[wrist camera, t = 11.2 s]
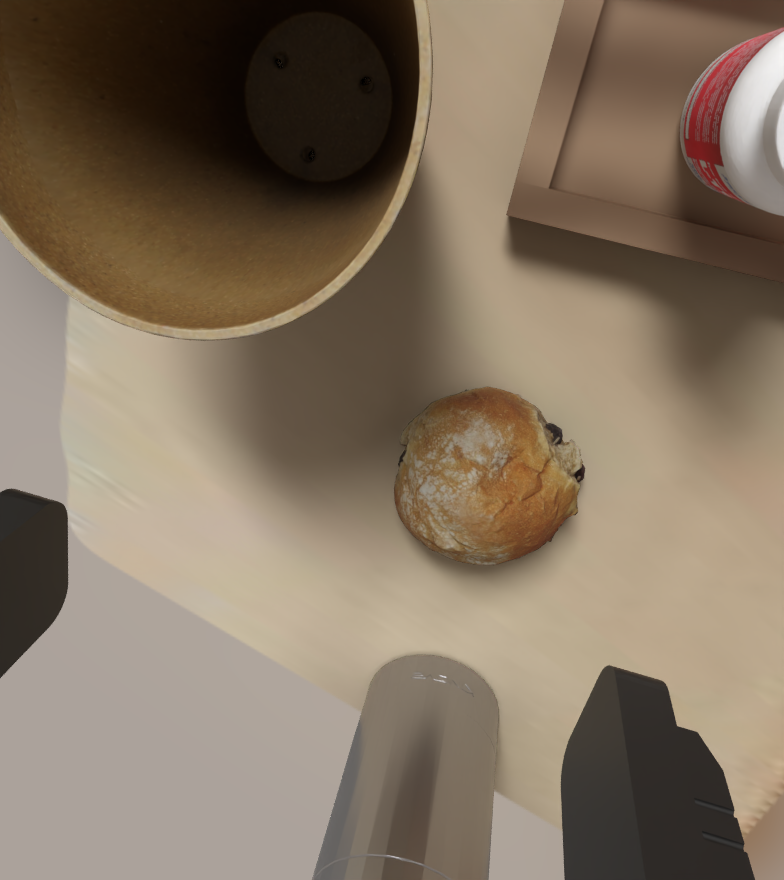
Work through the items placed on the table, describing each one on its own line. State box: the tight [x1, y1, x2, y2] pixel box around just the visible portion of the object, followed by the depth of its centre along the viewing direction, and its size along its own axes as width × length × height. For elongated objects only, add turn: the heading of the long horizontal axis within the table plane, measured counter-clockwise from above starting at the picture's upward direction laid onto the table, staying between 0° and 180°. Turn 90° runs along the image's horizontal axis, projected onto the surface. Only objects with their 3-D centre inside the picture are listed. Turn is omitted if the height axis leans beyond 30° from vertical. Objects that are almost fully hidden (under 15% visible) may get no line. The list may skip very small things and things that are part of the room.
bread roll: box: [394, 387, 585, 565], centre depth 38 cm, size 10×10×8 cm
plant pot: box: [0, 0, 433, 341], centre depth 26 cm, size 15×15×16 cm
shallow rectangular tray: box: [506, 0, 784, 283], centre depth 29 cm, size 12×18×2 cm, turn 78°
